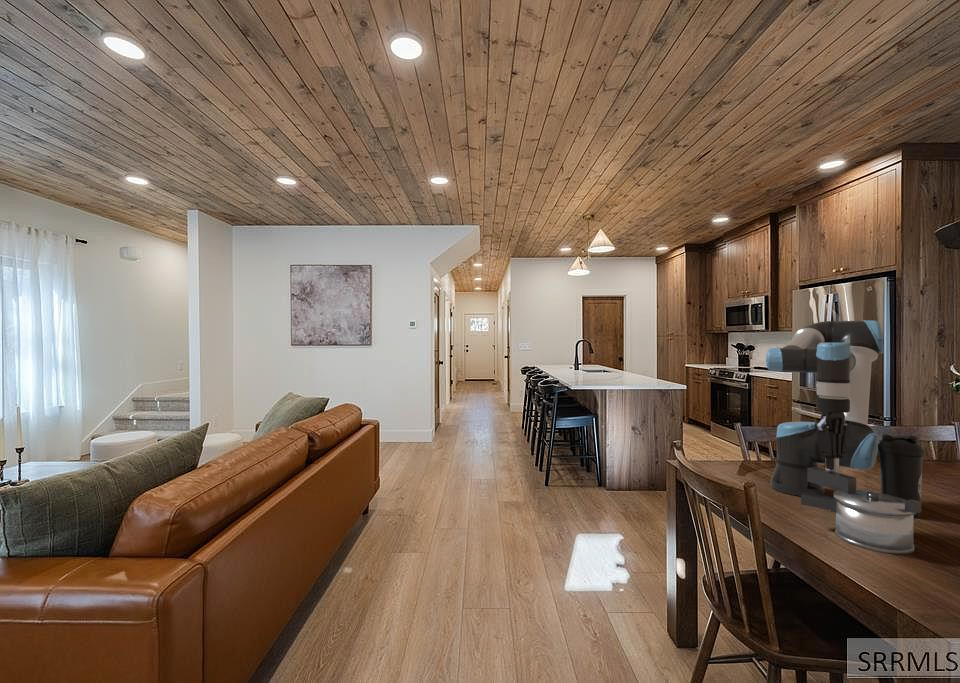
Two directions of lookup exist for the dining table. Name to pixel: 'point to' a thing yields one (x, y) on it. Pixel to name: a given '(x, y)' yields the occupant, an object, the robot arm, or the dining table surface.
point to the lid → (861, 494)
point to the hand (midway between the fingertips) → (832, 480)
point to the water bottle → (901, 467)
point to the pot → (867, 526)
